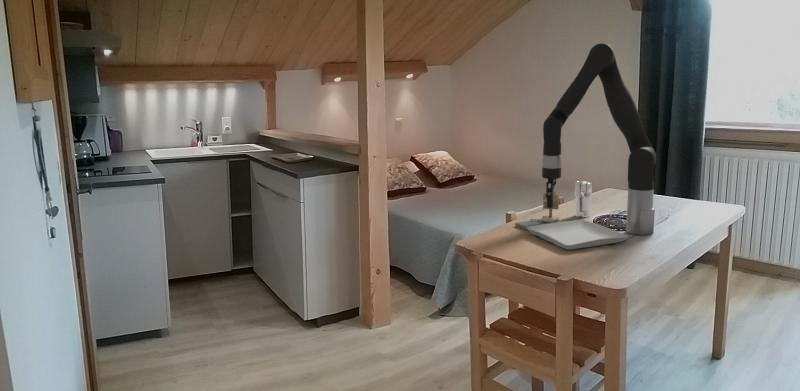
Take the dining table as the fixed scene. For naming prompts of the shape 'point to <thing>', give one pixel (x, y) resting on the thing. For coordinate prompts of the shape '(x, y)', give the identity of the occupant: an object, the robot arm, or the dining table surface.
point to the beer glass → (582, 198)
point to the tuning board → (530, 224)
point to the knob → (550, 209)
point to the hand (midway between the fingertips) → (550, 205)
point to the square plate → (577, 234)
